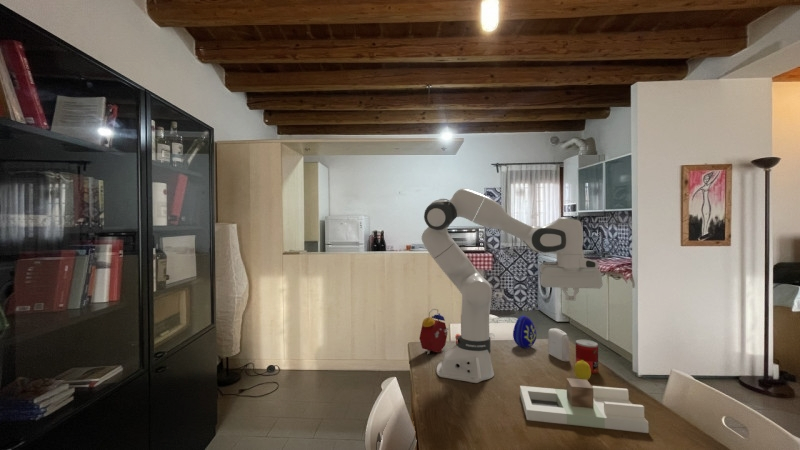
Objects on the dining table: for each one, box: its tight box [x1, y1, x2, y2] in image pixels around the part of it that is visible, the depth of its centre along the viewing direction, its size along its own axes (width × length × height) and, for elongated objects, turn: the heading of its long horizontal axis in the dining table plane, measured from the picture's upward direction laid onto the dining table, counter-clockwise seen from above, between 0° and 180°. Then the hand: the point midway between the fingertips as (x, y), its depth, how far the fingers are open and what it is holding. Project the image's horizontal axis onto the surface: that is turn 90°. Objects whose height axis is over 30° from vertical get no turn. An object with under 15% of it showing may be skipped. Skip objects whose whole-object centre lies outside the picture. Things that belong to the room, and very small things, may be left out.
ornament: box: [512, 315, 537, 349], centre depth 164 cm, size 11×9×15 cm
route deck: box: [519, 385, 650, 434], centre depth 105 cm, size 32×16×6 cm, turn 77°
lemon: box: [573, 360, 592, 380], centre depth 126 cm, size 6×6×8 cm
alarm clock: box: [419, 308, 450, 355], centre depth 158 cm, size 15×9×20 cm, turn 141°
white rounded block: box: [547, 327, 570, 362], centre depth 150 cm, size 10×4×12 cm, turn 13°
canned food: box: [575, 339, 599, 375], centre depth 137 cm, size 8×8×11 cm
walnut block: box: [566, 377, 594, 408], centre depth 105 cm, size 6×6×6 cm
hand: (570, 300), depth 123 cm, fingers closed
